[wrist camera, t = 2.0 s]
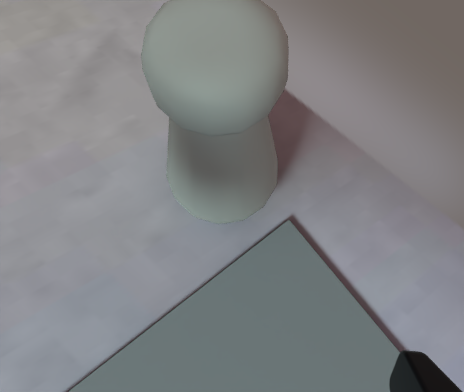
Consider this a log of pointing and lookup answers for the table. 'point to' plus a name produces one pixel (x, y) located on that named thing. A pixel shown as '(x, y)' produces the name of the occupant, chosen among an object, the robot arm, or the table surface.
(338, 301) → the slate mat
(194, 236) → the table surface
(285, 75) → the salt shaker
